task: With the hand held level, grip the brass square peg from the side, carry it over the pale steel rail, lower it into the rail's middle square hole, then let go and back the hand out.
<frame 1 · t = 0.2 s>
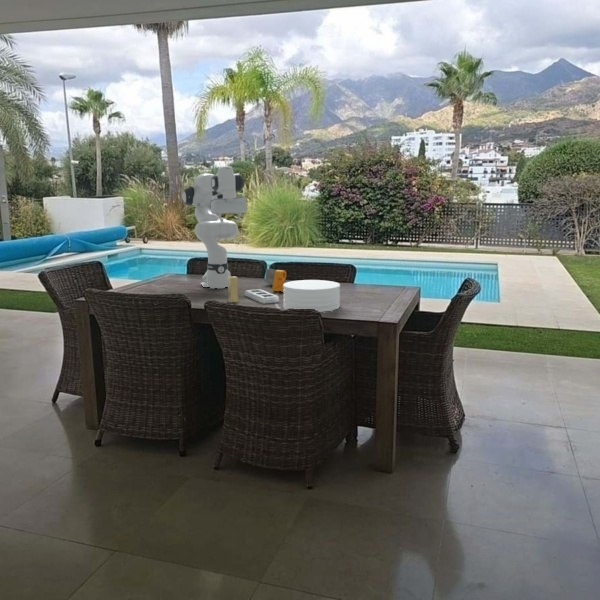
hand: (230, 221, 317), 40 cm above the table, tool pointing down, fingers open, 8 cm apart
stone: (275, 285, 349), on the table
rail: (261, 298, 309), on the table
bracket: (282, 291, 332), on the table
plate stack: (311, 307, 289), on the table
peg: (233, 301, 302), on the table
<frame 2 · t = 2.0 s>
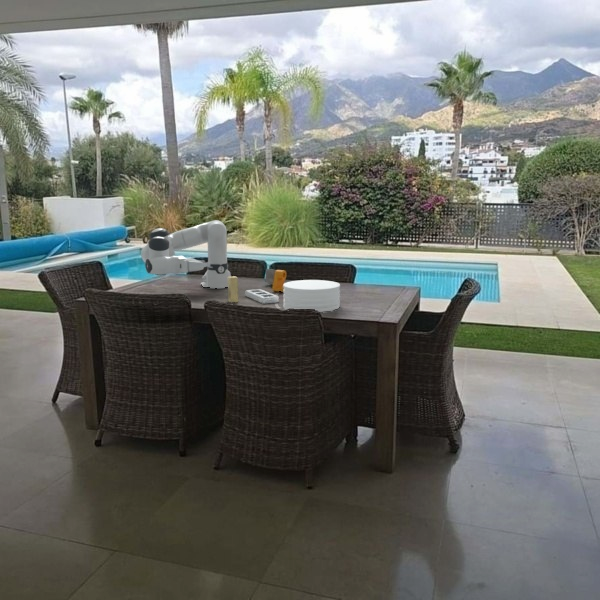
hand: (207, 263, 292), 21 cm above the table, tool horizontal, fingers open, 8 cm apart
nothing on the table moved.
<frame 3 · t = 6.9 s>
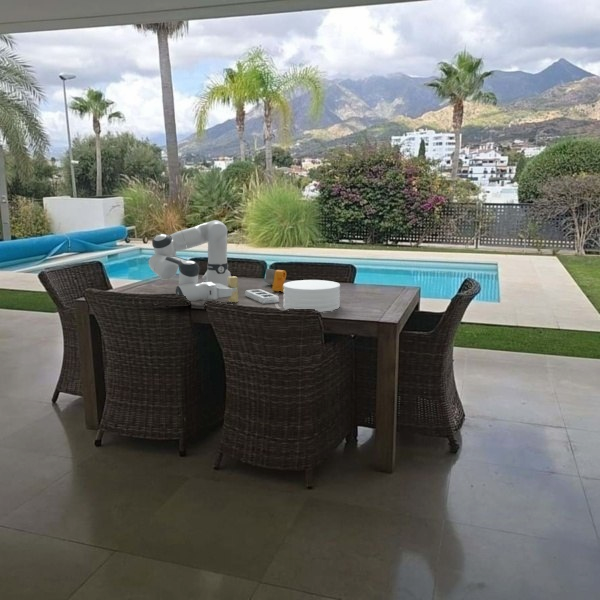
hand: (234, 288, 301), 7 cm above the table, tool horizontal, fingers closed on peg, 4 cm apart
peg: (233, 301, 302), on the table, touching gripper
everything else where it was.
when the fingers open (8 cm above the table, at t = 13.5 s): peg drops 1 cm, resting in rail.
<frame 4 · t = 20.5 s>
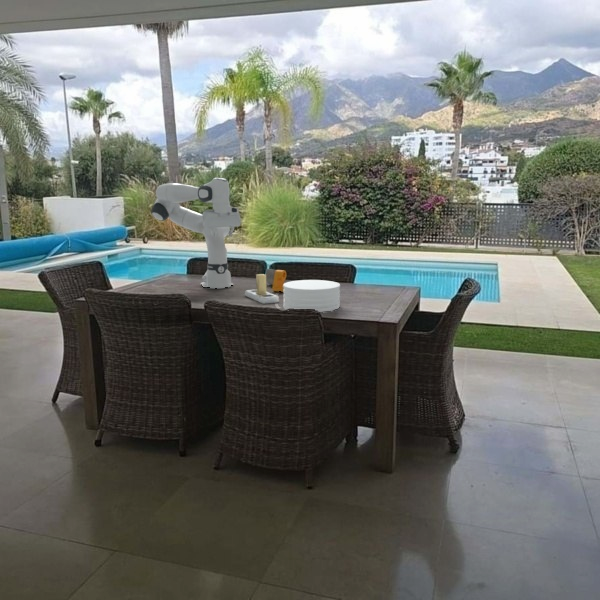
hand: (222, 235, 307), 33 cm above the table, tool pointing down, fingers open, 8 cm apart
peg: (261, 299, 309), resting in rail
everything else where it was.
at the end: peg 0.1 cm off-centre on the rail, point 0.0 cm above the rail's base; peg tilted 0°; the gripper is holding nothing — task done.
